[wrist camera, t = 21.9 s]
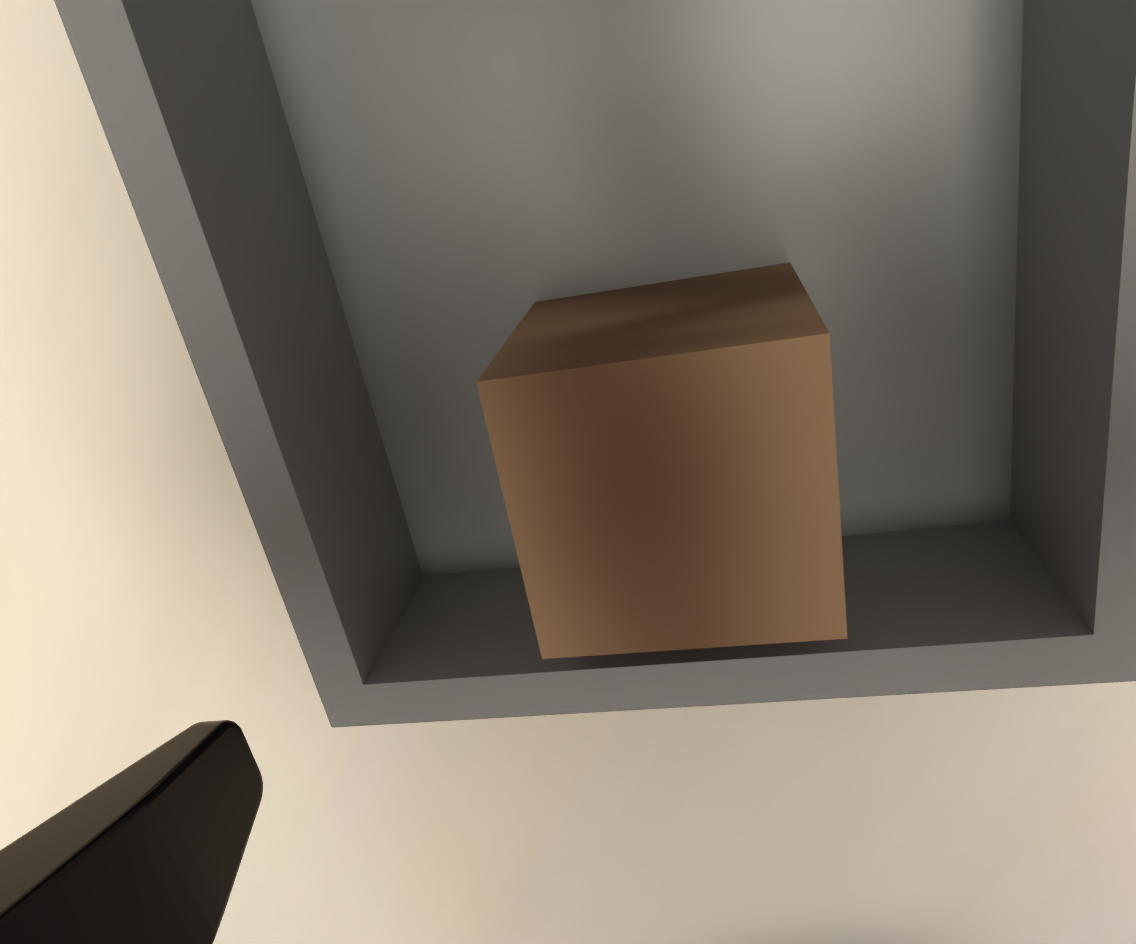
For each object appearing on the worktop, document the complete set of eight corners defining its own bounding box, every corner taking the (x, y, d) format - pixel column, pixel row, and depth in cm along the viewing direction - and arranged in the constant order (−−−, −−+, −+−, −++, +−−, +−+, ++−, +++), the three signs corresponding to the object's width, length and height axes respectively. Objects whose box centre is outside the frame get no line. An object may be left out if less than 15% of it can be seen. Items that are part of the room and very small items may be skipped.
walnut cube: (790, 262, 16) (829, 333, 11) (807, 497, 18) (847, 638, 13) (534, 302, 17) (475, 382, 12) (578, 520, 19) (541, 658, 14)
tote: (1042, 534, 18) (1156, 679, 14) (407, 592, 21) (331, 727, 17) (1113, -1105, 10) (1475, -2133, 5) (31, -621, 13) (-330, -1007, 8)
